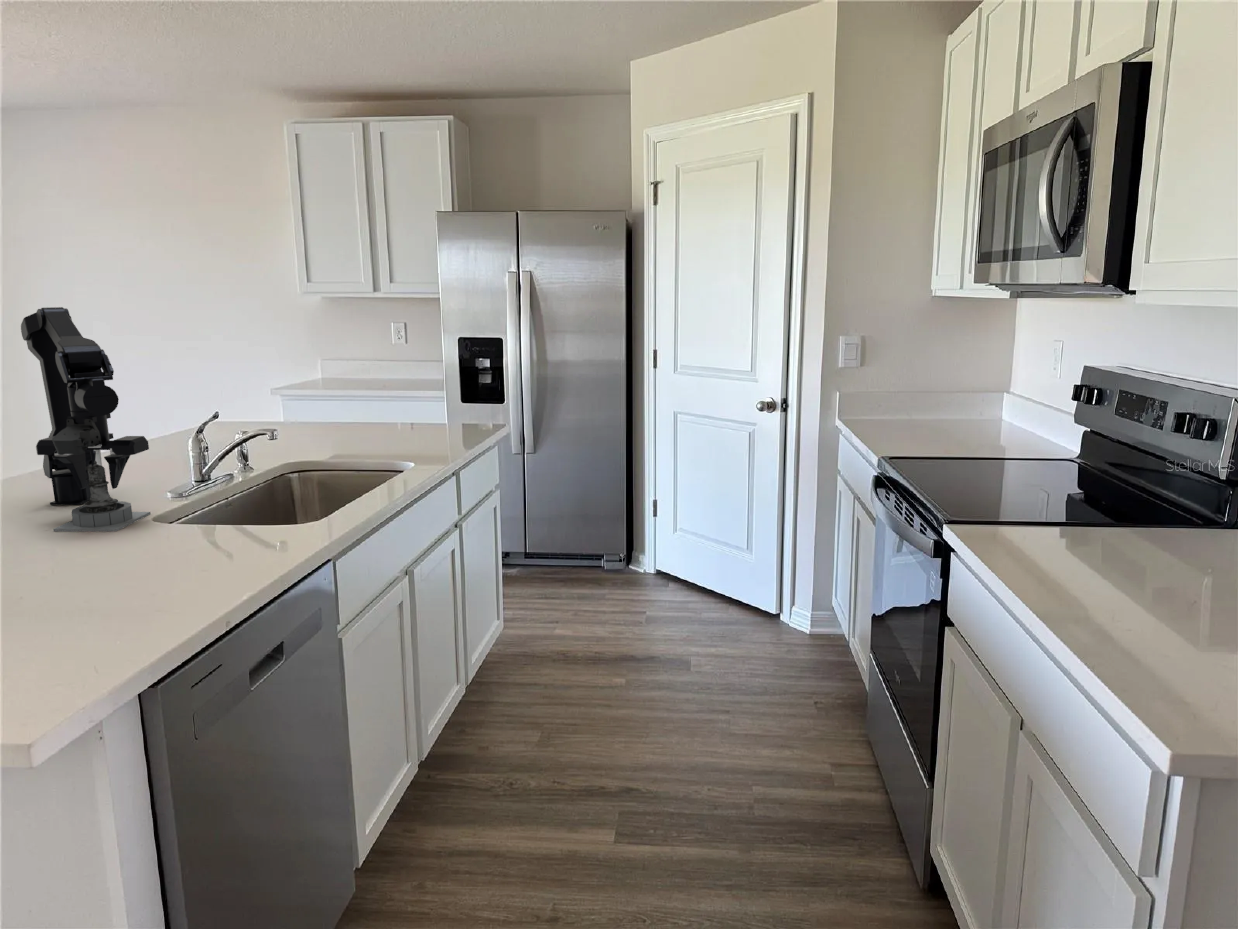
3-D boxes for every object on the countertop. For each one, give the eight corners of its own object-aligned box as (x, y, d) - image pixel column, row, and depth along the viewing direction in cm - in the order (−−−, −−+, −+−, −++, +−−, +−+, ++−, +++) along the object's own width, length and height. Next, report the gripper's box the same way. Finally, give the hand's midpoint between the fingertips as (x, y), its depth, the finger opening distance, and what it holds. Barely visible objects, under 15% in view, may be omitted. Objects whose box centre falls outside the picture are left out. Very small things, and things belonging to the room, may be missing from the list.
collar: (53, 531, 158) (51, 516, 158) (92, 514, 170) (90, 500, 169) (116, 531, 158) (114, 516, 158) (150, 514, 170) (148, 500, 170)
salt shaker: (127, 516, 167) (119, 457, 164) (106, 524, 161) (97, 463, 159) (100, 515, 167) (92, 457, 165) (78, 523, 162) (69, 463, 159)
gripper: (9, 416, 152) (22, 498, 155) (112, 416, 152) (122, 498, 155) (50, 407, 162) (61, 484, 166) (145, 407, 163) (154, 484, 166)
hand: (99, 488), depth 163 cm, fingers open, 6 cm apart
